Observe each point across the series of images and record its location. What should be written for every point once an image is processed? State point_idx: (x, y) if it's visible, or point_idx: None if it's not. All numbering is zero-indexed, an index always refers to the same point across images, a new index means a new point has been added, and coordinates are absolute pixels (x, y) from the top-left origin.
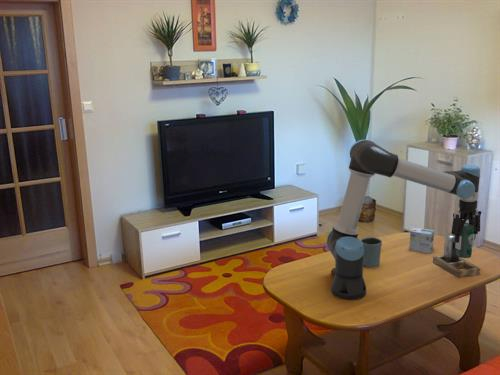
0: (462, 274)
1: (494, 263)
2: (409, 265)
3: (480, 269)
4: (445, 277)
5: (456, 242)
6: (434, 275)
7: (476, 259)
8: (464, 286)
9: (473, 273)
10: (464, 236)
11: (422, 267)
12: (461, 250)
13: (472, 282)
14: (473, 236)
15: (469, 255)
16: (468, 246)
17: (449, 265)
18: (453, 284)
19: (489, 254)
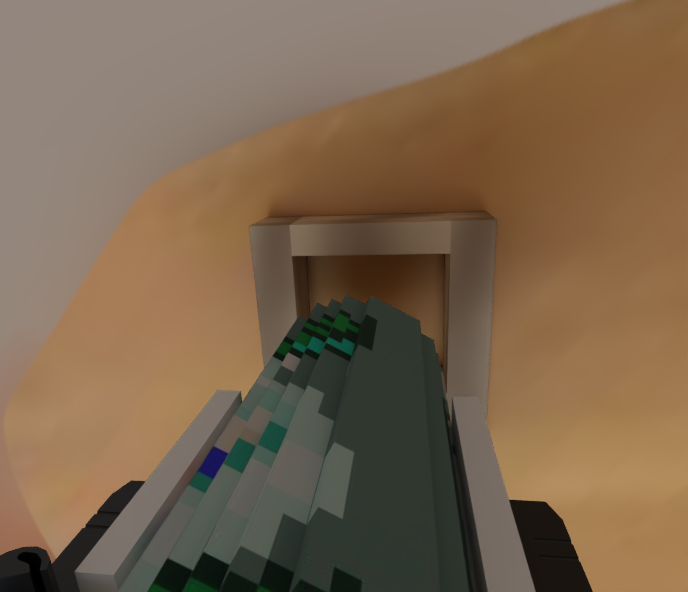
0: (454, 217)
1: (52, 344)
2: (685, 542)
3: (252, 225)
4: (583, 267)
5: (546, 515)
6: (643, 331)
7: (137, 440)
8: (564, 43)
9: (331, 218)
10: (438, 566)
11: (615, 480)
12: (436, 385)
13: (431, 99)
14: (139, 527)
15: (334, 311)
16: (344, 372)
17: (476, 375)
18: (629, 117)
19: (13, 467)
